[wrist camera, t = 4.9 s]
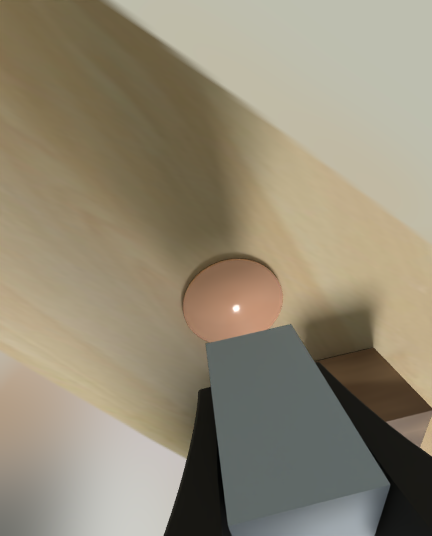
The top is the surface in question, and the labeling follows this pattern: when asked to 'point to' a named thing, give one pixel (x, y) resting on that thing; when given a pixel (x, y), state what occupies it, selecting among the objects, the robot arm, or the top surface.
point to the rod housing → (382, 391)
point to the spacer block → (288, 443)
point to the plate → (232, 300)
